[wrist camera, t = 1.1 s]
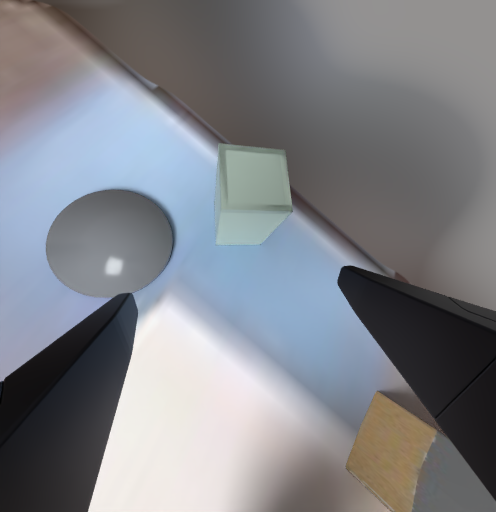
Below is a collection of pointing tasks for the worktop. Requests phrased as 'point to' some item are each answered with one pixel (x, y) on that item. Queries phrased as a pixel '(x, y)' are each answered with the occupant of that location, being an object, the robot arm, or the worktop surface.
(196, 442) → the worktop surface
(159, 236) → the coaster
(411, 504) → the sandwich container
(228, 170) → the pale green block
